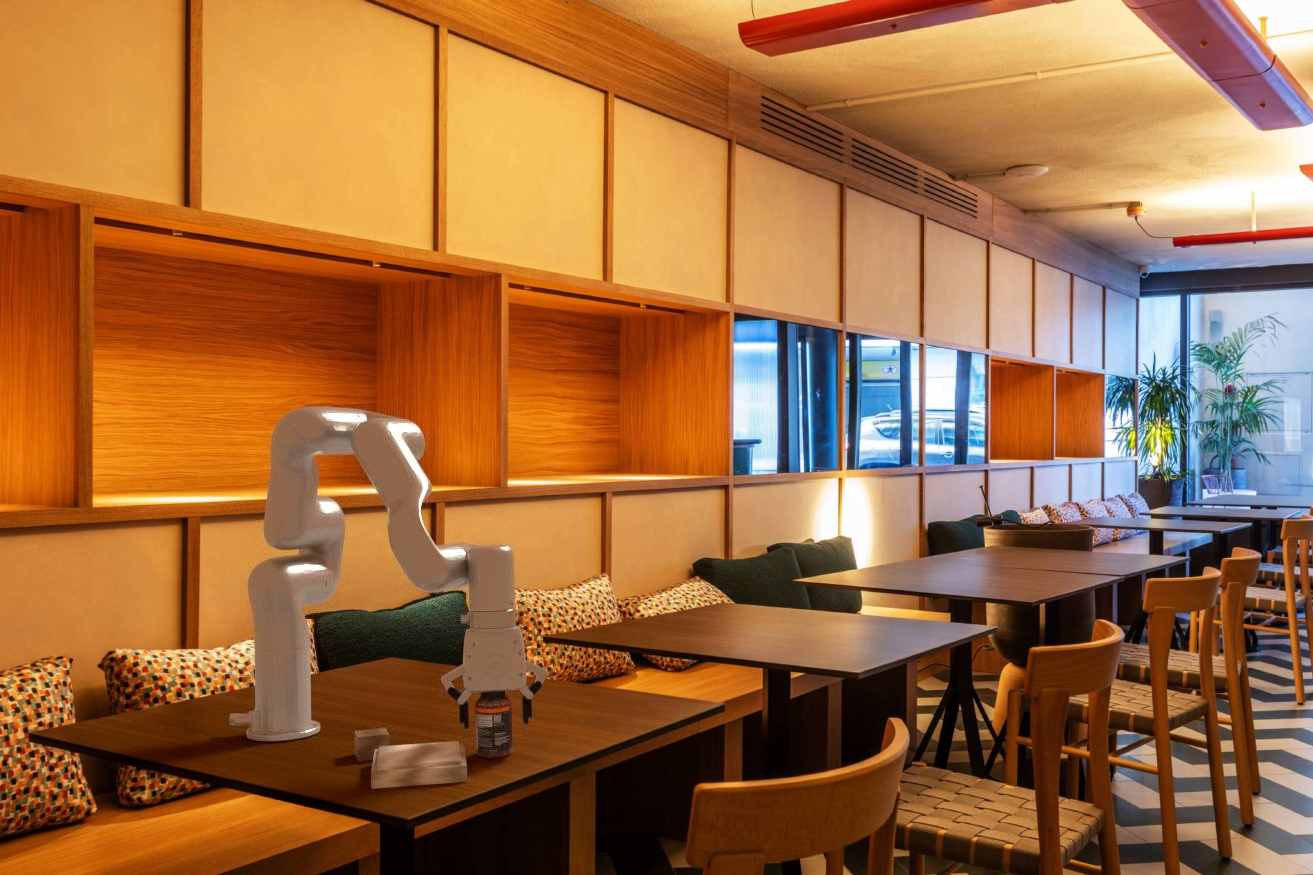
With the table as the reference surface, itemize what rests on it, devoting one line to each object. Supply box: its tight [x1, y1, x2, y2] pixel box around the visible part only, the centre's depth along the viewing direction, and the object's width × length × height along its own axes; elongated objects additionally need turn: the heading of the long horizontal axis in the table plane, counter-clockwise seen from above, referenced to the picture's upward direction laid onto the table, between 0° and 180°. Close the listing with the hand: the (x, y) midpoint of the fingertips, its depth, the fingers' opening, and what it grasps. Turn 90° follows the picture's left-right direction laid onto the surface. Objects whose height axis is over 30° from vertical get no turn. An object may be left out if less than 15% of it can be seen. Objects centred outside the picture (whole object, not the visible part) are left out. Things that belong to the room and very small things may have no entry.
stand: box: [370, 740, 468, 790], centre depth 177 cm, size 14×14×3 cm
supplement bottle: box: [474, 691, 514, 759], centre depth 187 cm, size 6×6×11 cm
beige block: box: [354, 727, 390, 762], centre depth 188 cm, size 5×5×4 cm
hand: (496, 724), depth 187 cm, fingers open, 9 cm apart
